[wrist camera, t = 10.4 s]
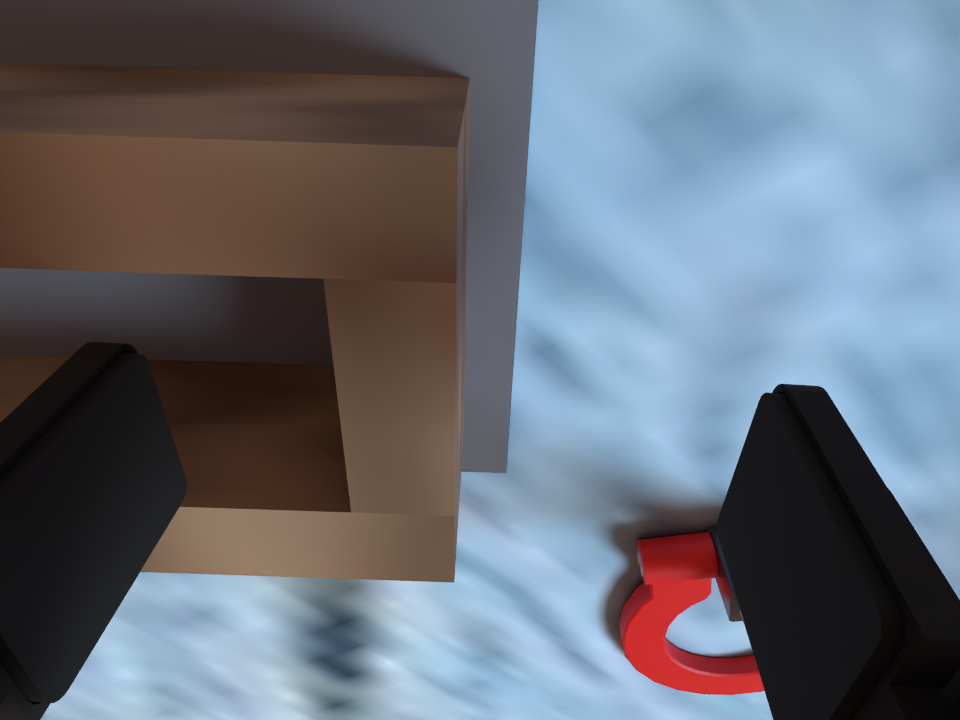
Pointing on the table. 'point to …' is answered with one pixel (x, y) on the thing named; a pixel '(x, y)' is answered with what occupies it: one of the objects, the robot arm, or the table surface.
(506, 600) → the table surface
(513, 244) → the mat
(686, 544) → the tow hook
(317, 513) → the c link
